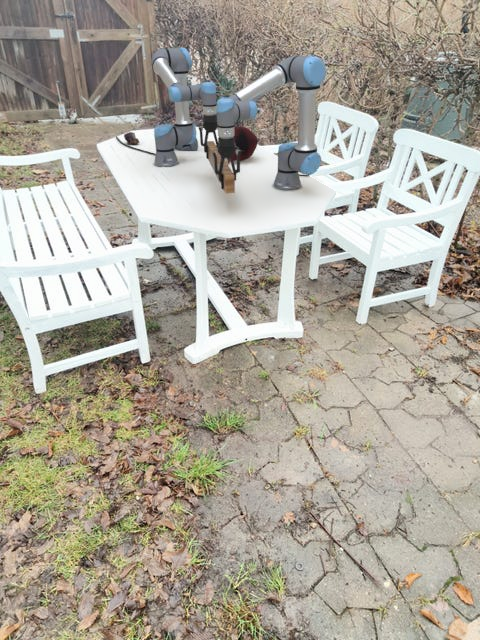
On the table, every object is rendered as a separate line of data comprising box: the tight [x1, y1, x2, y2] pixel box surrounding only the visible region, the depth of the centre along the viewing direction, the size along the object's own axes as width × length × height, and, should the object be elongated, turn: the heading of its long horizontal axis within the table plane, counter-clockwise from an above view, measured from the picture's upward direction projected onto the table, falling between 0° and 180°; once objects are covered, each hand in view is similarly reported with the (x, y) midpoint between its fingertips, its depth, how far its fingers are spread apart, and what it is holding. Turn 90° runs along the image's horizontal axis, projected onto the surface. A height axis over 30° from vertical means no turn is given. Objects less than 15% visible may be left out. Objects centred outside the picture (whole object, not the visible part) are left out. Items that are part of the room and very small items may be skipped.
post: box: [206, 140, 236, 195], centre depth 236 cm, size 65×4×8 cm, turn 11°
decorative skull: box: [226, 126, 259, 165], centre depth 296 cm, size 21×24×25 cm
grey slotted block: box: [174, 137, 199, 151], centre depth 321 cm, size 17×18×20 cm
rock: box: [123, 131, 140, 145], centre depth 337 cm, size 12×9×10 cm
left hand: (211, 157), depth 259 cm, fingers closed on post, 4 cm apart
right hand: (227, 187), depth 217 cm, fingers closed on post, 4 cm apart
